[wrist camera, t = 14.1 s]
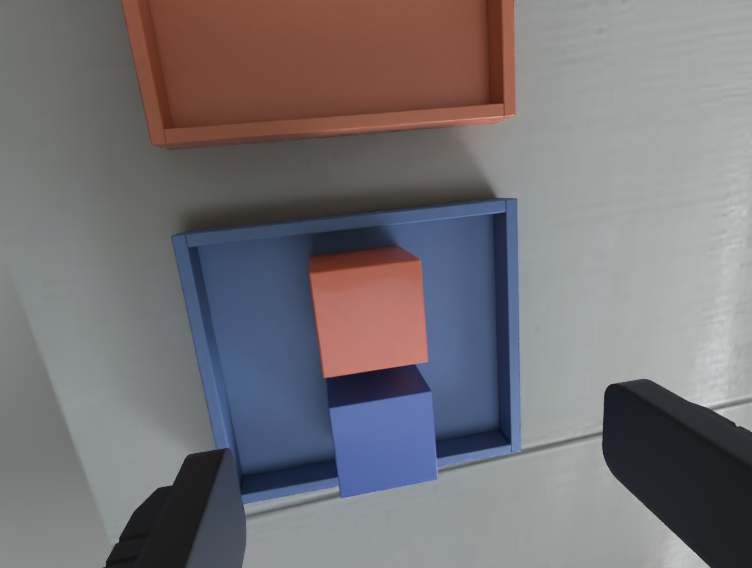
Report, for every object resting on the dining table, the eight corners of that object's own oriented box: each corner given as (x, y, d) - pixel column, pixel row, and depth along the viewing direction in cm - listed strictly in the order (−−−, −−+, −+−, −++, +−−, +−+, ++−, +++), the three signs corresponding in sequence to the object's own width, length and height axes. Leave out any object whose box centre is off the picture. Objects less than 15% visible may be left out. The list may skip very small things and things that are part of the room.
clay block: (320, 340, 22) (322, 379, 17) (308, 255, 21) (308, 272, 16) (405, 328, 22) (428, 362, 18) (398, 244, 21) (421, 258, 17)
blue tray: (236, 480, 23) (228, 507, 21) (185, 231, 20) (170, 235, 18) (504, 430, 25) (521, 451, 23) (498, 197, 22) (517, 198, 20)
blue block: (335, 439, 23) (340, 499, 19) (324, 364, 22) (328, 408, 17) (414, 425, 24) (438, 479, 19) (408, 351, 22) (432, 390, 18)
